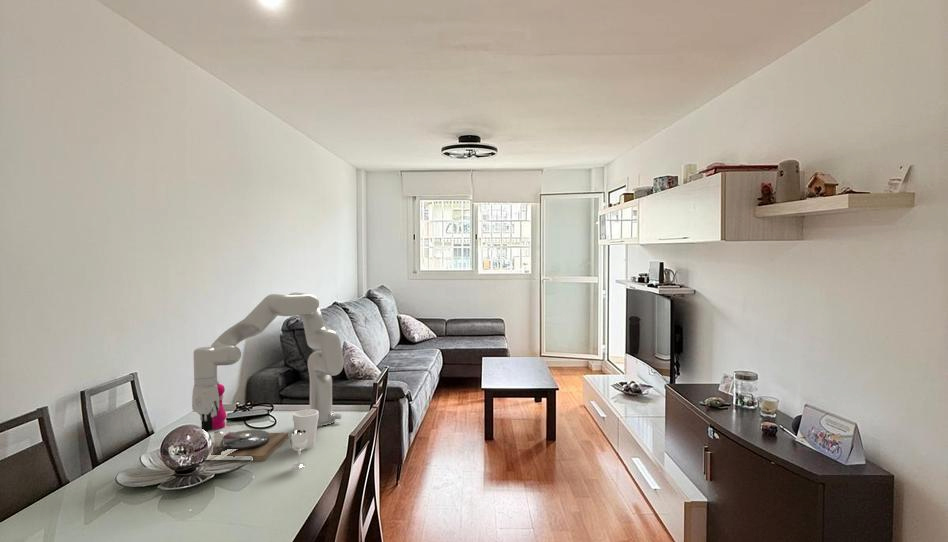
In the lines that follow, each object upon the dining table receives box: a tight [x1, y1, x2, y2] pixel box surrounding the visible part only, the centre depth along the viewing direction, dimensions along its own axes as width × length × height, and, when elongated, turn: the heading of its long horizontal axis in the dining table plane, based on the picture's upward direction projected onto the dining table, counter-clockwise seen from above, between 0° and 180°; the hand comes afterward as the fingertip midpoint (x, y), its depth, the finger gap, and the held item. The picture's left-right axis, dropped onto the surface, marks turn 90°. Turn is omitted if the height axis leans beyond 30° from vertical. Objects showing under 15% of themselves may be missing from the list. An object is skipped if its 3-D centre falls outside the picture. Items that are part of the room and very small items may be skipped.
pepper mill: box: [212, 380, 227, 430], centre depth 218 cm, size 7×7×20 cm
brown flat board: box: [211, 431, 289, 462], centre depth 194 cm, size 26×24×2 cm
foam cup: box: [292, 408, 319, 450], centre depth 197 cm, size 10×9×13 cm
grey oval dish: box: [213, 429, 270, 453], centre depth 192 cm, size 22×17×7 cm
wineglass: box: [289, 430, 308, 470], centre depth 178 cm, size 6×6×12 cm
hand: (207, 430), depth 188 cm, fingers closed
